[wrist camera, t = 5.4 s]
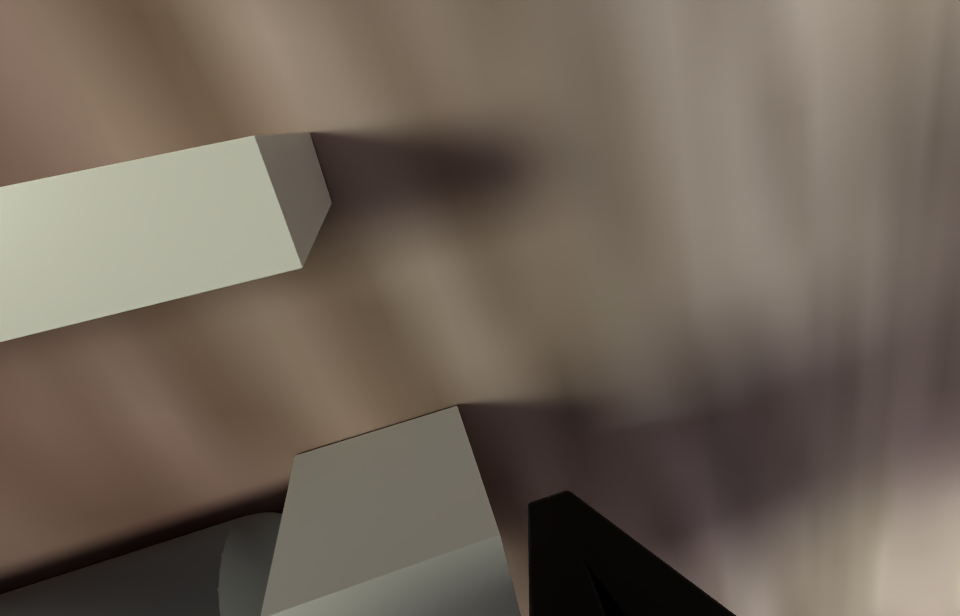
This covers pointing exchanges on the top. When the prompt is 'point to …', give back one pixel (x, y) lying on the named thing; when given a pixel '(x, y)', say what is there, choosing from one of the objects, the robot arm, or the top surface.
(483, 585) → the grey bar
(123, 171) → the white slat
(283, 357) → the top surface
